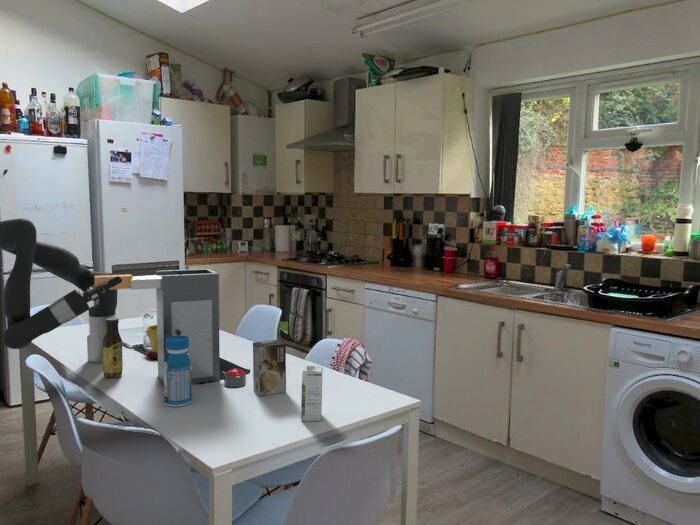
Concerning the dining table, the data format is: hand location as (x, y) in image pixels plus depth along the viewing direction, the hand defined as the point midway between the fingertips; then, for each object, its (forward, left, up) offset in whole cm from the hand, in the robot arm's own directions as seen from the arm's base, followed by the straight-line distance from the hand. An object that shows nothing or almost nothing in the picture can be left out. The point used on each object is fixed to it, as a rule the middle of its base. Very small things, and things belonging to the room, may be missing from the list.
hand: (119, 277), depth 186 cm
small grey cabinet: (+17, +12, -36) cm, 42 cm away
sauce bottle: (-9, +9, -36) cm, 38 cm away
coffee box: (+48, +4, -36) cm, 60 cm away
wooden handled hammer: (+5, +3, -3) cm, 7 cm away
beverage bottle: (+24, -11, -36) cm, 45 cm away
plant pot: (-8, +42, -36) cm, 56 cm away
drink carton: (+66, -15, -36) cm, 77 cm away
